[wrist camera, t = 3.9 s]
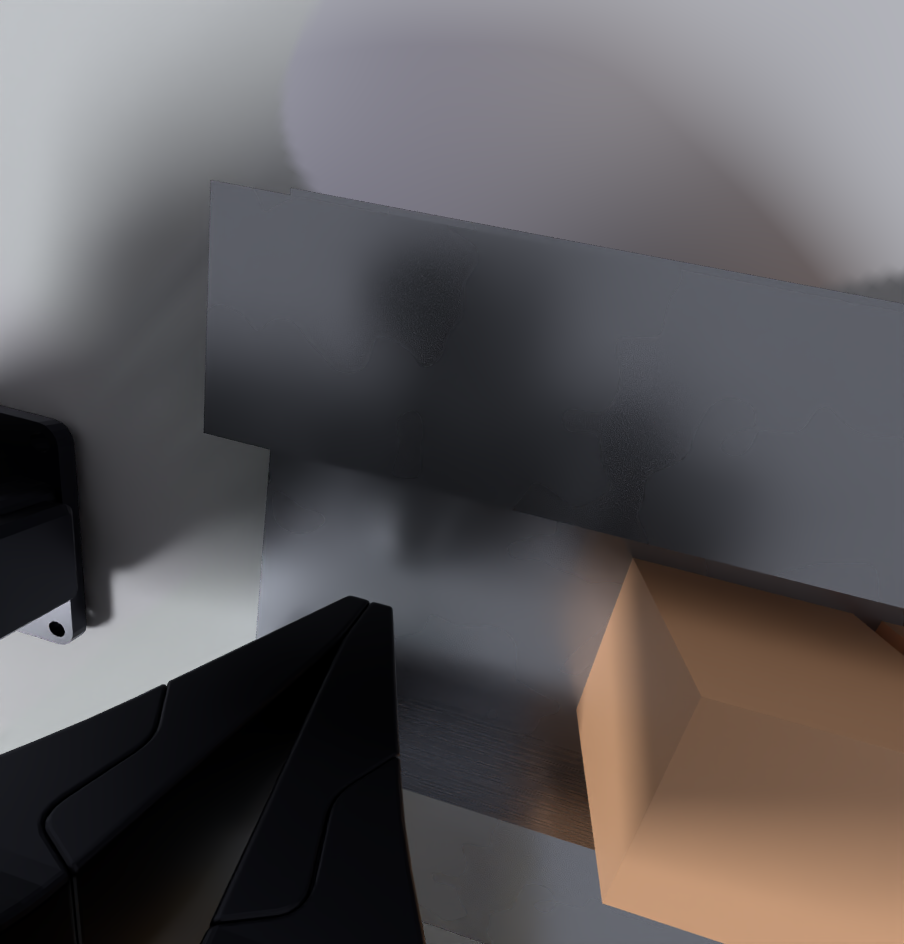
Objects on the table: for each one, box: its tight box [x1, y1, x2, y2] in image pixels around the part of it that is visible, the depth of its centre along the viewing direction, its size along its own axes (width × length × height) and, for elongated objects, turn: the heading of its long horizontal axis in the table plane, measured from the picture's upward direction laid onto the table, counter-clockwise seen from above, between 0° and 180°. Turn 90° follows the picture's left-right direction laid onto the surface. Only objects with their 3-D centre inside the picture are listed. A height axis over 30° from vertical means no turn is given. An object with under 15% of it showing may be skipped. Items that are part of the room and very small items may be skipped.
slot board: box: [204, 180, 904, 944], centre depth 9 cm, size 16×14×3 cm
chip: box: [576, 558, 904, 944], centre depth 7 cm, size 4×4×4 cm
